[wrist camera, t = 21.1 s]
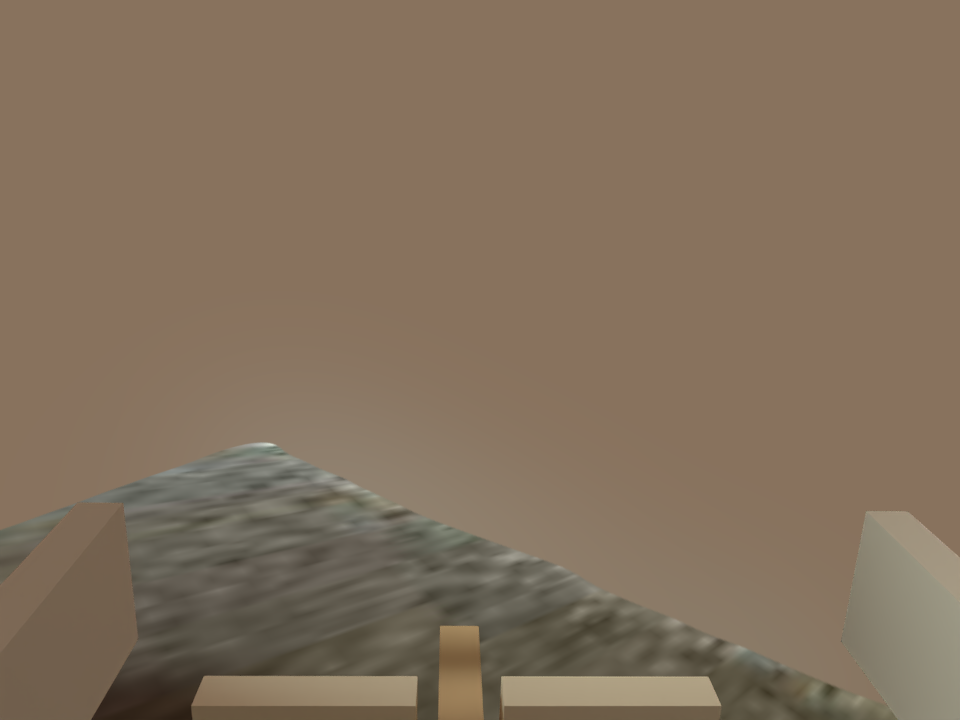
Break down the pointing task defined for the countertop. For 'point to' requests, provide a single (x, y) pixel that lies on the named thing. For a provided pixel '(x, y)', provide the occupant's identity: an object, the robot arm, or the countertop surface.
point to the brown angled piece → (460, 674)
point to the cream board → (393, 699)
